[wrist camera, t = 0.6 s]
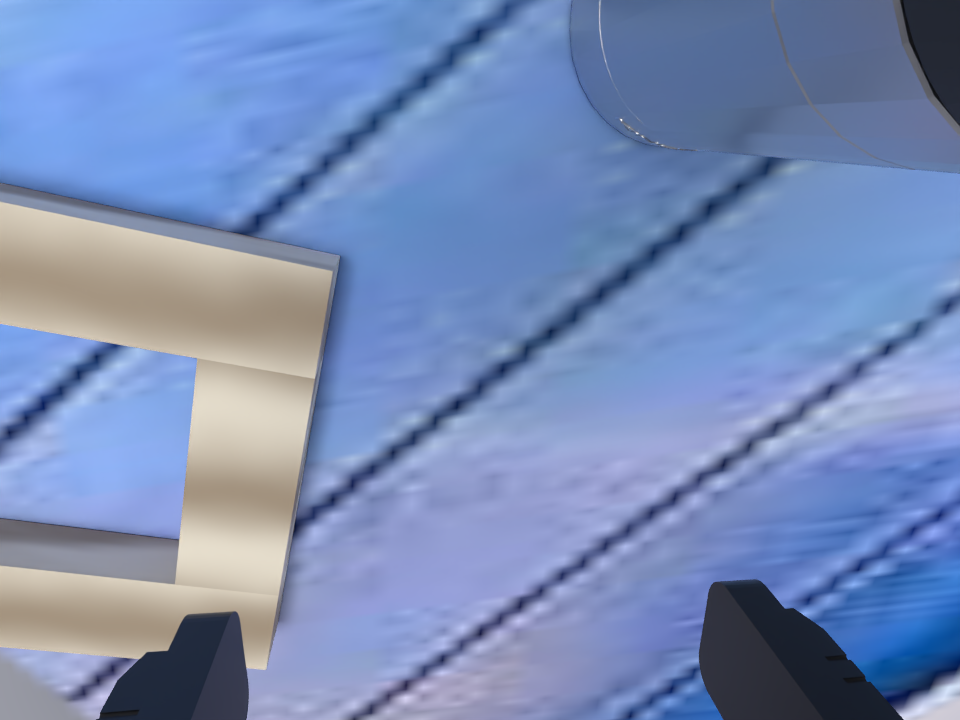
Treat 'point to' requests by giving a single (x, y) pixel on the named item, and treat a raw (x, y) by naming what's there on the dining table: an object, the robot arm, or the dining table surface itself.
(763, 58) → the robot arm
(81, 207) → the socket block
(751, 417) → the dining table surface
